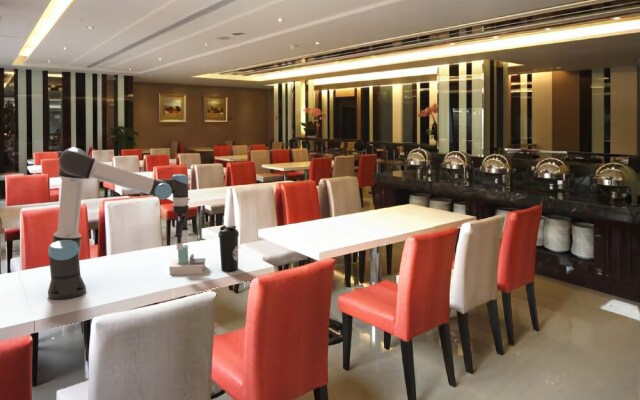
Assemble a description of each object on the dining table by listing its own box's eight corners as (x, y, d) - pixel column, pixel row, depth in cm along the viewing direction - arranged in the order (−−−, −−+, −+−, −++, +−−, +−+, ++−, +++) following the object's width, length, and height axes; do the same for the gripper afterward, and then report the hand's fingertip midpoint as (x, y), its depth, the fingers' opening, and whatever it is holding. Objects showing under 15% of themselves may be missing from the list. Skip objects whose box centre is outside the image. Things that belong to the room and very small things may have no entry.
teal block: (179, 270, 249) (177, 247, 247) (180, 267, 253) (179, 245, 251) (187, 270, 249) (186, 247, 247) (188, 267, 253) (187, 245, 251)
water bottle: (235, 273, 247) (234, 229, 243) (216, 271, 249) (215, 228, 245) (242, 267, 257) (241, 224, 253) (224, 266, 259) (222, 223, 255)
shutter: (189, 264, 247) (189, 258, 247) (191, 260, 254) (191, 254, 254) (203, 263, 248) (203, 257, 248) (205, 259, 255) (205, 253, 255)
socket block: (169, 274, 245) (169, 266, 244) (174, 267, 256) (173, 259, 256) (202, 273, 246) (201, 265, 246) (205, 266, 258) (204, 259, 258)
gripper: (184, 209, 234) (185, 252, 237) (192, 200, 258) (193, 239, 262) (168, 209, 233) (169, 252, 236) (177, 200, 257) (178, 239, 261)
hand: (182, 245), depth 249 cm, fingers open, 13 cm apart
